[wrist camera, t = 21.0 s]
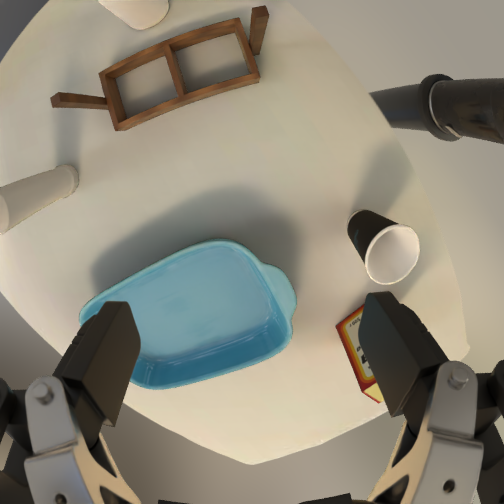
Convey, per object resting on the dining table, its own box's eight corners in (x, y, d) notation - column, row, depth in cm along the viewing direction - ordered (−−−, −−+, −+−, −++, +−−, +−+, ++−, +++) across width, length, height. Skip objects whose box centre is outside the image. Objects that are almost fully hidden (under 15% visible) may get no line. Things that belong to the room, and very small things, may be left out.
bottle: (60, 199, 36) (-52, 273, 13) (52, 169, 34) (-69, 225, 11) (83, 189, 35) (-37, 264, 13) (74, 158, 33) (-56, 210, 11)
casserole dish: (252, 199, 38) (255, 214, 31) (309, 314, 46) (318, 342, 40) (75, 295, 43) (58, 317, 37) (144, 372, 52) (137, 398, 46)
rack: (248, 24, 27) (252, -25, 14) (268, 80, 31) (283, 52, 18) (102, 80, 29) (44, 67, 16) (118, 134, 33) (61, 142, 20)
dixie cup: (326, 227, 40) (352, 261, 30) (362, 188, 37) (399, 211, 27) (358, 257, 42) (388, 295, 32) (391, 222, 40) (429, 251, 30)
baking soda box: (352, 341, 50) (379, 405, 35) (335, 326, 48) (362, 394, 33) (390, 312, 47) (428, 371, 33) (376, 294, 45) (416, 355, 31)
